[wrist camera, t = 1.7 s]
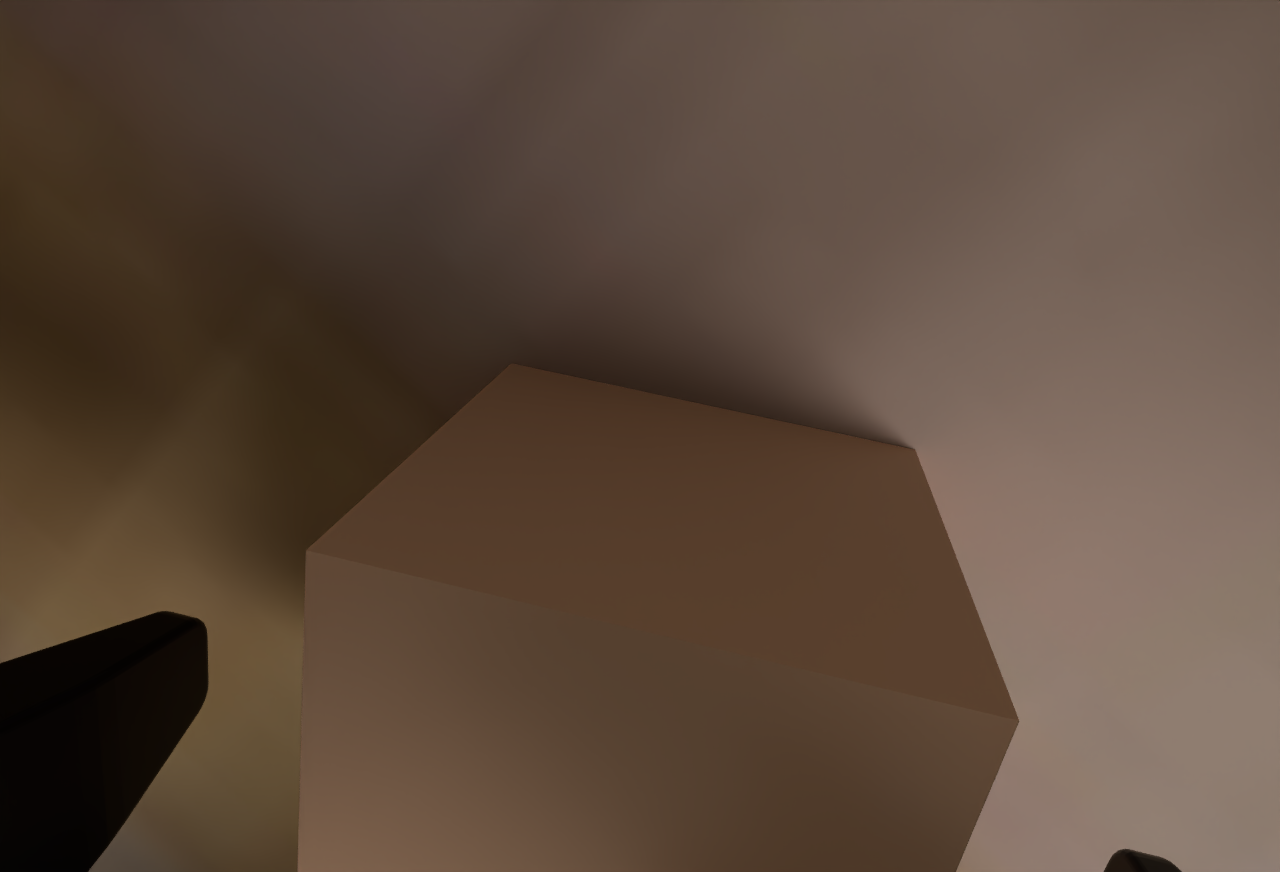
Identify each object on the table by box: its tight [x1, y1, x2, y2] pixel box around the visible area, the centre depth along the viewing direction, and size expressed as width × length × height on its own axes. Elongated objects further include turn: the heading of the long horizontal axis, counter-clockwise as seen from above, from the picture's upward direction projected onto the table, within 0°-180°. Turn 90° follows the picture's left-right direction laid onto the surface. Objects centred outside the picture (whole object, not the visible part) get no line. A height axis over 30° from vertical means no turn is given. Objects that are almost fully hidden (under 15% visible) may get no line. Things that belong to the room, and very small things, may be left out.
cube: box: [298, 363, 1019, 872], centre depth 9 cm, size 5×5×5 cm
